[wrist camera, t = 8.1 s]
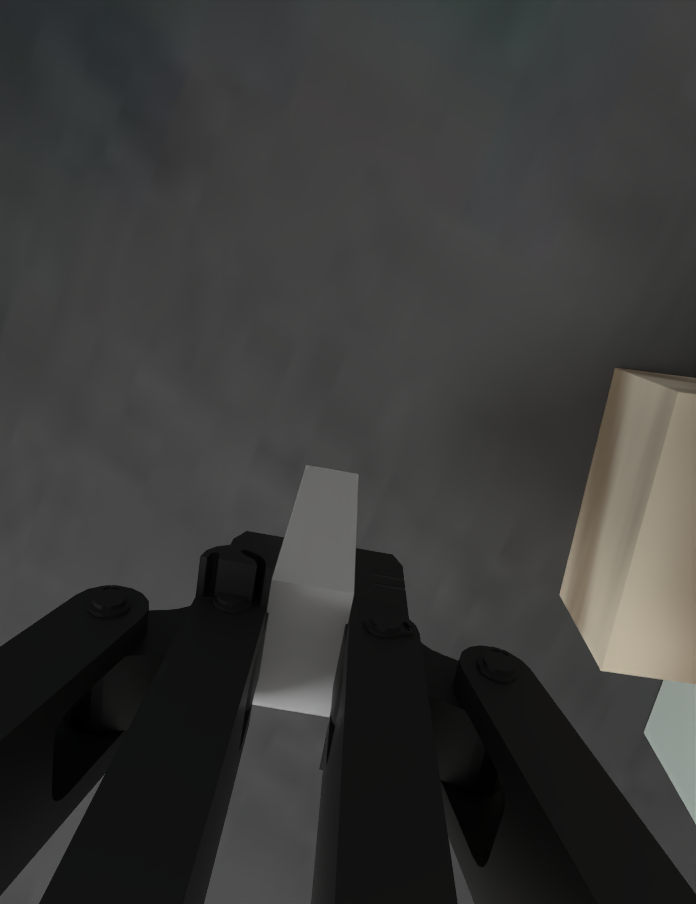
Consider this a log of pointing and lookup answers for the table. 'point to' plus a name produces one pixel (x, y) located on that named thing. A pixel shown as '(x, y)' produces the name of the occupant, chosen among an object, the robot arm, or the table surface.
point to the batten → (676, 737)
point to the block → (639, 532)
